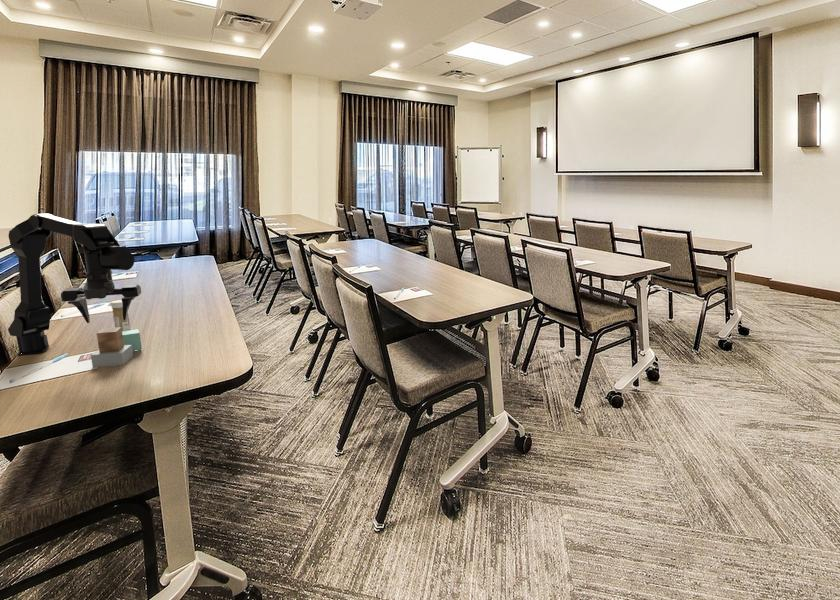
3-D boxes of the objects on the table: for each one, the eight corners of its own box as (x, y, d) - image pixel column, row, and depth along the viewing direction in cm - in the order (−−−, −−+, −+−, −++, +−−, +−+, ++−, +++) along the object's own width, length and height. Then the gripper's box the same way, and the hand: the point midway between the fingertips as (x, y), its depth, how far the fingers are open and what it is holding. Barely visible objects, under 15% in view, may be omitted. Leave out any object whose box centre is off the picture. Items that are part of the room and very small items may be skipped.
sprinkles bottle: (132, 339, 161) (126, 301, 158) (116, 341, 159) (110, 303, 156) (131, 336, 165) (126, 298, 162) (116, 338, 163) (110, 300, 160)
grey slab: (92, 368, 136) (90, 355, 135) (104, 358, 144) (102, 346, 143) (123, 366, 138) (121, 353, 137) (133, 357, 145) (131, 344, 144)
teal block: (123, 353, 147) (121, 335, 146) (122, 349, 151) (120, 331, 150) (142, 350, 150) (139, 332, 149) (140, 346, 154) (138, 329, 153)
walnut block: (99, 352, 137) (96, 333, 136) (105, 347, 142) (102, 328, 140) (119, 351, 138) (116, 331, 137) (124, 346, 143) (121, 327, 142)
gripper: (49, 275, 124) (59, 331, 128) (130, 271, 130) (137, 325, 134) (63, 268, 134) (72, 321, 138) (138, 265, 141) (144, 316, 144)
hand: (106, 321), depth 138 cm, fingers open, 9 cm apart
